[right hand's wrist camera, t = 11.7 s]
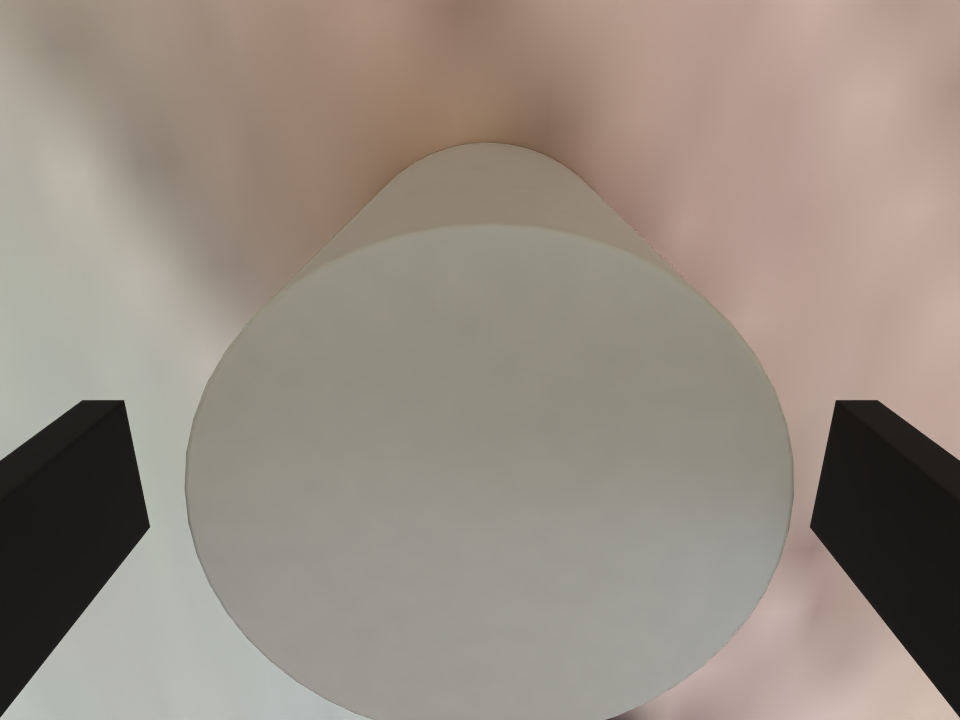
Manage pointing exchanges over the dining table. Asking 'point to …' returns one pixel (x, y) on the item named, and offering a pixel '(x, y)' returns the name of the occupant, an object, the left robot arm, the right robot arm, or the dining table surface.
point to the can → (489, 457)
